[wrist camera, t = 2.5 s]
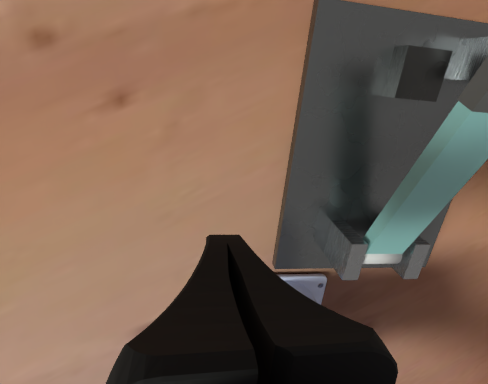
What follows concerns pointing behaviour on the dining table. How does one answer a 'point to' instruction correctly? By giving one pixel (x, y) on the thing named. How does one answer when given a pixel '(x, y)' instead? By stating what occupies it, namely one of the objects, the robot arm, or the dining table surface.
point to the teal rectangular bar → (434, 175)
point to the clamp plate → (367, 127)
